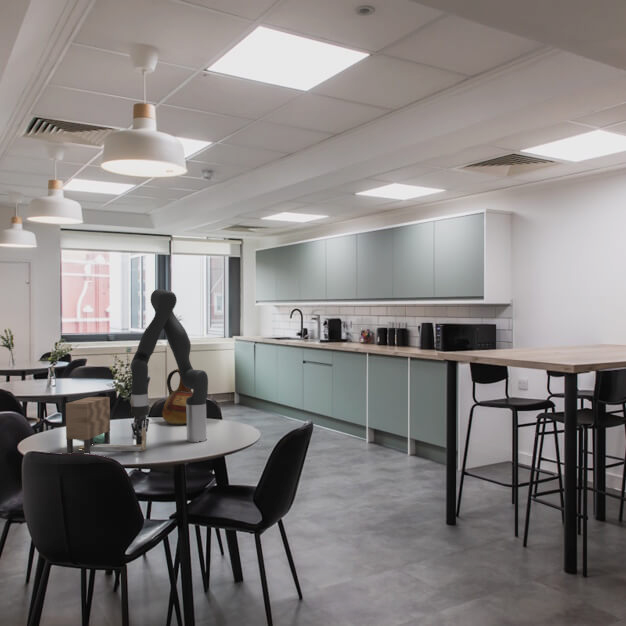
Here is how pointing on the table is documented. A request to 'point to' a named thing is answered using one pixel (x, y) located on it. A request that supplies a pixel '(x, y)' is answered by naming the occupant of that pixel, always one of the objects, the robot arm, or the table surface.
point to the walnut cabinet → (87, 421)
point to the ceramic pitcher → (176, 402)
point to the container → (99, 439)
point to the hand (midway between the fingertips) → (140, 443)
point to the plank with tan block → (120, 446)
